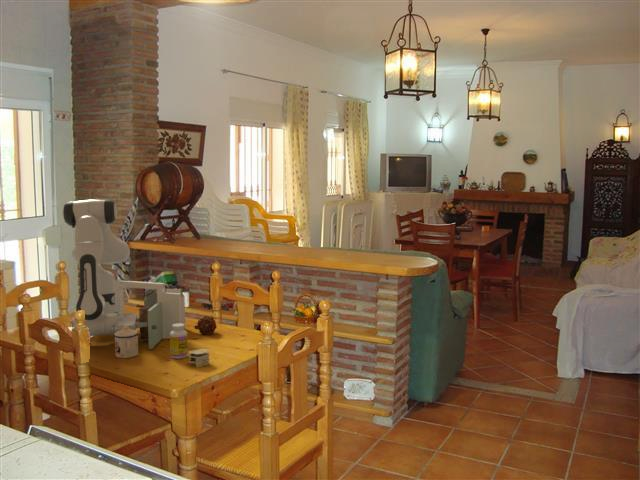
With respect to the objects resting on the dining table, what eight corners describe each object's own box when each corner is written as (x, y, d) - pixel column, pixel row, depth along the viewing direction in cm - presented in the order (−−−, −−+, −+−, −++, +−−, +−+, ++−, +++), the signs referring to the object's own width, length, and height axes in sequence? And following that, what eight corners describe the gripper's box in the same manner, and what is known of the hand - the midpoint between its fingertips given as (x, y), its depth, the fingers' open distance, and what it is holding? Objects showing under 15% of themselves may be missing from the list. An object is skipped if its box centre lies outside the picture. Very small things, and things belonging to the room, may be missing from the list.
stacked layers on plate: (202, 359, 241) (202, 346, 240) (217, 364, 235) (216, 350, 234) (181, 366, 233) (180, 352, 233) (195, 371, 227) (195, 356, 227)
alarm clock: (168, 314, 310) (167, 285, 308) (169, 317, 303) (169, 287, 301) (144, 316, 306) (143, 286, 304) (145, 320, 299) (144, 289, 297)
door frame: (116, 334, 275) (114, 281, 272) (119, 332, 277) (117, 280, 274) (179, 340, 266) (178, 285, 263) (182, 338, 268) (181, 284, 265)
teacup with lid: (113, 353, 248) (112, 324, 246) (137, 350, 251) (135, 322, 250) (117, 362, 237) (116, 332, 235) (141, 358, 241) (140, 329, 239)
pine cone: (211, 340, 271) (199, 338, 280) (224, 326, 275) (212, 324, 284) (199, 326, 268) (188, 324, 277) (213, 312, 272) (201, 311, 281)
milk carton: (178, 332, 278) (177, 290, 275) (164, 331, 279) (162, 290, 277) (185, 328, 285) (184, 287, 282) (171, 327, 286) (169, 287, 284)
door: (155, 349, 252) (154, 310, 250) (148, 348, 252) (147, 310, 250) (166, 337, 268) (164, 301, 265) (159, 337, 268) (158, 301, 266)
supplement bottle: (178, 360, 239) (177, 328, 237) (166, 357, 243) (165, 325, 241) (191, 355, 244) (190, 324, 243) (179, 352, 248) (178, 321, 247)
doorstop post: (137, 339, 263) (136, 309, 261) (144, 336, 267) (143, 306, 266) (148, 340, 261) (147, 310, 260) (154, 337, 266) (153, 307, 264)
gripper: (111, 322, 250) (146, 320, 253) (115, 311, 270) (148, 309, 273) (111, 338, 251) (147, 335, 254) (115, 325, 270) (148, 323, 274)
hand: (147, 322), depth 264 cm, fingers closed on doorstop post, 5 cm apart
